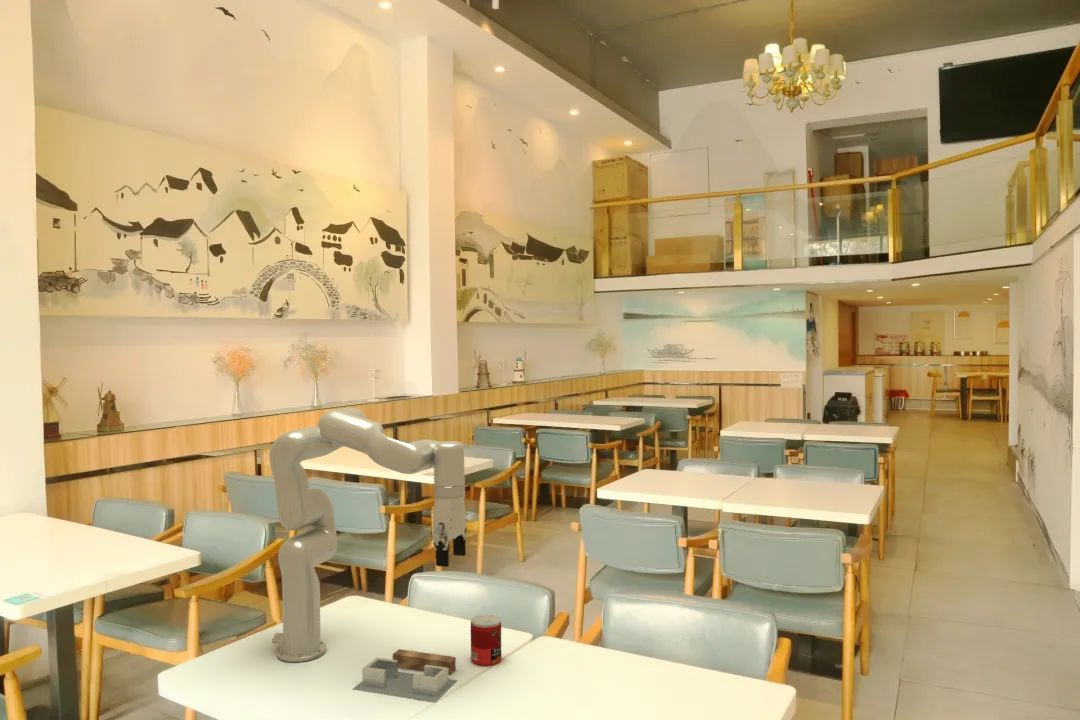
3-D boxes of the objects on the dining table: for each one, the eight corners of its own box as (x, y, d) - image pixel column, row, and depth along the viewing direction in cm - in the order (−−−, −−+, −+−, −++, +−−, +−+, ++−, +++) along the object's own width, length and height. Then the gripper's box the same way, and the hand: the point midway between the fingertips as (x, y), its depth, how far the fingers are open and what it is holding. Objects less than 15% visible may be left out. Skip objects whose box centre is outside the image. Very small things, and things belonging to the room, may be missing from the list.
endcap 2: (448, 684, 178) (448, 667, 178) (436, 696, 172) (436, 679, 172) (426, 681, 180) (426, 664, 180) (413, 693, 174) (412, 676, 174)
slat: (392, 669, 188) (392, 654, 188) (399, 664, 191) (398, 649, 191) (450, 678, 183) (449, 662, 183) (455, 672, 186) (455, 657, 186)
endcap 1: (362, 684, 178) (362, 668, 178) (376, 673, 184) (376, 657, 184) (384, 688, 176) (384, 671, 176) (398, 676, 182) (398, 660, 182)
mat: (351, 690, 176) (351, 689, 176) (378, 669, 187) (378, 668, 187) (435, 704, 169) (435, 702, 169) (457, 681, 180) (457, 680, 180)
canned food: (497, 669, 187) (497, 625, 187) (467, 666, 189) (466, 623, 189) (504, 656, 195) (504, 615, 195) (475, 654, 197) (475, 613, 196)
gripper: (451, 485, 193) (452, 550, 193) (419, 497, 177) (421, 569, 177) (477, 486, 191) (478, 552, 191) (448, 499, 174) (449, 571, 174)
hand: (451, 560), depth 184 cm, fingers open, 9 cm apart
